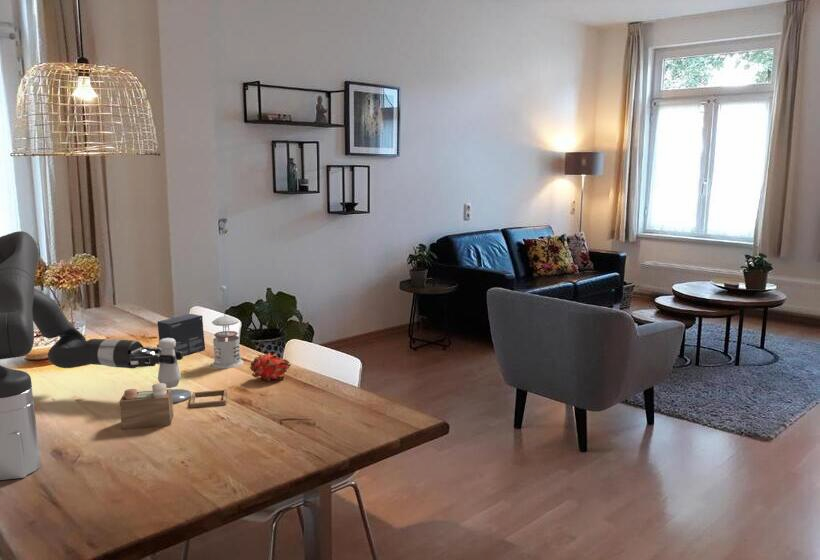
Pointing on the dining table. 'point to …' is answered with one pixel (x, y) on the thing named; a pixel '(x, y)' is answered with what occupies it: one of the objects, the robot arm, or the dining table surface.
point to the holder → (211, 403)
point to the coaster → (180, 395)
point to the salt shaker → (168, 371)
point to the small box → (184, 333)
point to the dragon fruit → (269, 366)
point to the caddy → (146, 407)
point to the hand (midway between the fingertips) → (177, 357)
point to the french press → (226, 349)
